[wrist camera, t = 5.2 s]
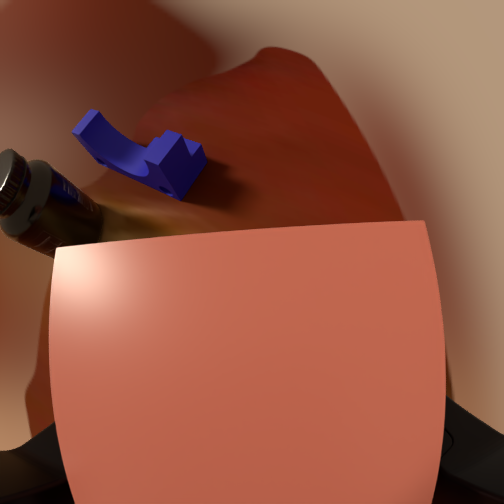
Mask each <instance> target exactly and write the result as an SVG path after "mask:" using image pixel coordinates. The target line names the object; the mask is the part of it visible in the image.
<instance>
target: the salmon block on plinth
mask: <svg viewBox="0 0 504 504" xmlns="http://www.w3.org/2000/svg"><path fill="white" fill-rule="evenodd" d="M49 363H50V381H51V392H52V402H53V410H54V417H55V424H56V430H57V436H58V441H59V446H60V451H61V455H62V460H63V464H64V468H65V472H66V475H67V479H68V483H69V486H70V489H71V492H72V496H73V499H74V502H75V504H431V503H432V499H433V495H434V491H435V486H436V481H437V476H438V470H439V464H440V457H441V450H442V442H443V432H444V420H445V400H446V363H445V343H444V331H443V319H442V310H441V302H440V296H439V289H438V282H437V276H436V271H435V266H434V260H433V256H432V251H431V246H430V242H429V238H428V234H427V229H426V226H425V222H424V220H421V221H394V222H371V223H351V224H332V225H314V226H297V227H282V228H267V229H253V230H239V231H226V232H213V233H201V234H189V235H177V236H166V237H155V238H144V239H134V240H123V241H114V242H104V243H94V244H85V245H76V246H67V247H58V248H56V253H55V261H54V268H53V276H52V286H51V299H50V316H49Z"/></svg>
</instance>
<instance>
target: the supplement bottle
mask: <svg viewBox="0 0 504 504" xmlns="http://www.w3.org/2000/svg"><path fill="white" fill-rule="evenodd" d="M102 225H103V220H102V213H101V211H100V208H99V207H98V205H97V204H96V203H95V202H94V201H93V200H92V199H91V198H90V197H88V196H87V195H86V194H85V193H84V192H82V191H81V190H80V189H79V188H78V187H76V186H75V185H74V184H73V183H72V182H70V181H69V180H68V179H67V178H66V177H64V176H63V175H62V174H61V173H60V172H59V171H57V170H56V169H55V168H54V167H53V166H52V165H51V164H49V163H48V162H47V161H44V160H39V159H36V160H31V161H27V160H26V159H25V158H24V157H22V156H20V155H19V154H18V153H17V152H15V151H14V150H12V149H7V150H4V151H3V152H1V153H0V228H1V230H2V232H3V233H4V235H5V236H6V237H8V238H10V239H12V240H13V241H15V242H18V243H20V244H22V245H24V246H26V247H28V248H31V249H33V250H35V251H37V252H40V253H42V254H44V255H47V256H49V257H51V258H54V259H55V253H56V248H58V247H67V246H76V245H85V244H94V243H98V241H99V239H100V236H101V232H102Z"/></svg>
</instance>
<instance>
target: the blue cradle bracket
mask: <svg viewBox="0 0 504 504" xmlns="http://www.w3.org/2000/svg"><path fill="white" fill-rule="evenodd" d="M72 134H73V135H74V136H75V137H76V138H77V139H78V141H79V142H80V143H81V144H82V145H83V146H84V147H85V149H86V150H87V151H88V152H89V153H90V154H91V155H92V157H93V158H94V159H95V160H96V161H97V162H98V163H99V164H100V165H103V166H105V167H107V168H110V169H113V170H115V171H117V172H119V173H121V174H123V175H126V176H128V177H130V178H132V179H134V180H137V181H139V182H141V183H143V184H145V185H147V186H149V187H152V188H154V189H156V190H158V191H160V192H162V193H165V194H167V195H169V196H171V197H173V198H175V199H177V200H179V201H181V200H182V199H183V197H184V196H185V194H186V193H187V191H188V190H189V188H190V187H191V185H192V184H193V182H194V181H195V179H196V178H197V177H198V175H199V174H200V172H201V171H202V169H203V168H204V167H205V165H206V164H207V159H206V156H205V153H204V151H203V148H202V145H201V144H200V143H197V142H194V141H191V140H188V139H185V138H183V136H182V134H178V133H175V132H172V131H169V130H166V132H165V133H164V134H163V135H162V136H161V138H158V137H155V138H154V139H153V141H152V142H151V143H150V144H149V146H148V147H147V148H145V147H142V146H140V145H138V144H136V143H134V142H133V141H131V140H129V139H128V138H126V137H125V136H124V135H122V134H121V133H120V132H118V131H117V130H116V129H115V128H114V127H112V126H111V124H109V122H108V121H107V120H105V118H104V117H103V116H102V114H101V113H100V112H99V111H96V110H92V109H90V111H89V112H88V113H87V114H86V115H85V116H84V117H83V119H82V120H81V121H80V122H79V123H78V125H77V126H76V127H75V128H74V129H73V131H72Z"/></svg>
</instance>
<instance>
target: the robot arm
mask: <svg viewBox="0 0 504 504" xmlns="http://www.w3.org/2000/svg"><path fill="white" fill-rule="evenodd" d="M0 504H75V502H74V499H73V496H72V492H71V489H70V486H69V483H68V479H67V475H66V472H65V468H64V464H63V460H62V455H61V451H60V446H59V441H58V436H57V430H56V424H55V422H53V423H52V424H51V425H49V426H48V427H47V428H45V429H44V430H43V431H41V432H40V433H39V434H37V435H36V436H34V437H33V438H32V439H30V440H29V441H28V442H26V443H25V444H23V445H22V446H20V447H18V448H16V449H12V450H7V451H0ZM431 504H504V435H503V434H501V433H499V432H498V431H496V430H495V429H493V428H491V427H490V426H489V425H487V424H486V423H484V422H483V421H481V420H479V419H478V418H476V417H475V416H474V415H472V414H471V413H469V412H468V411H466V410H465V409H464V408H462V407H461V406H459V405H458V404H457V403H455V402H454V401H453V400H452V399H450V398H449V397H448V396H447V395H446V400H445V420H444V432H443V442H442V450H441V457H440V464H439V470H438V476H437V481H436V486H435V491H434V495H433V499H432V503H431Z"/></svg>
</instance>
